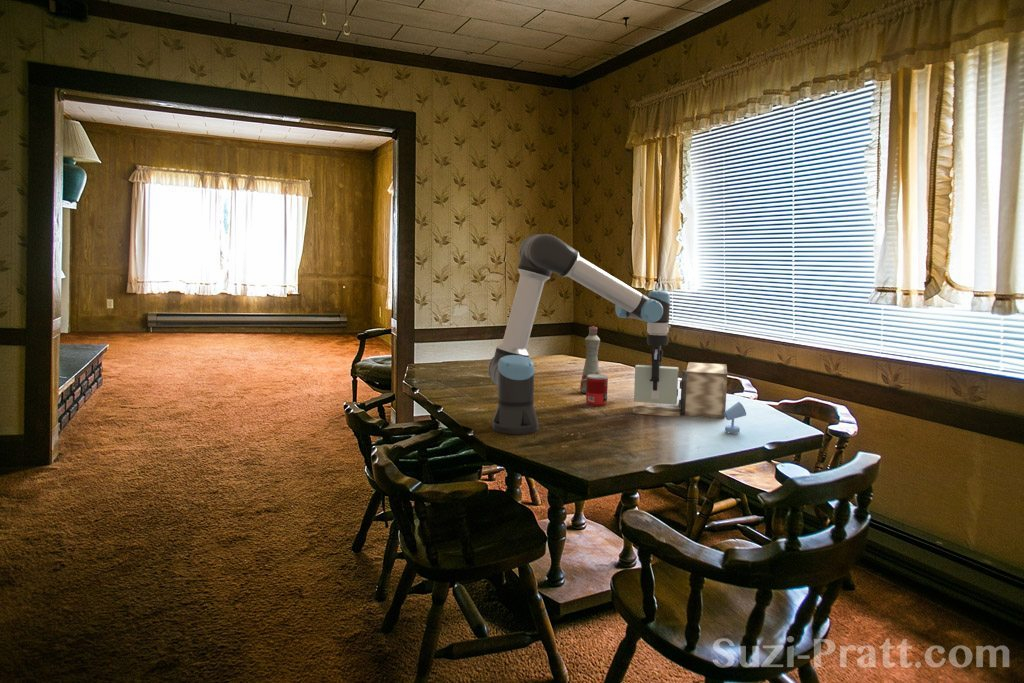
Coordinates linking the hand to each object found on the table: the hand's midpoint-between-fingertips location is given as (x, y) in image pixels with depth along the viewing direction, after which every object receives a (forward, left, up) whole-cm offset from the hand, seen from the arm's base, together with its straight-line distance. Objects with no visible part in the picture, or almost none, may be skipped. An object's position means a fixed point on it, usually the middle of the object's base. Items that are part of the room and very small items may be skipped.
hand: (655, 397), depth 241 cm
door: (0, 0, -2) cm, 2 cm away
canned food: (-23, +6, -6) cm, 24 cm away
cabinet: (+8, +9, -6) cm, 13 cm away
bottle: (-29, +26, -6) cm, 39 cm away
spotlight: (+27, -19, -6) cm, 33 cm away
